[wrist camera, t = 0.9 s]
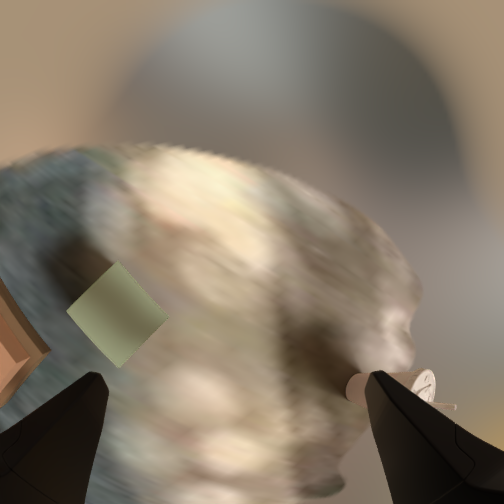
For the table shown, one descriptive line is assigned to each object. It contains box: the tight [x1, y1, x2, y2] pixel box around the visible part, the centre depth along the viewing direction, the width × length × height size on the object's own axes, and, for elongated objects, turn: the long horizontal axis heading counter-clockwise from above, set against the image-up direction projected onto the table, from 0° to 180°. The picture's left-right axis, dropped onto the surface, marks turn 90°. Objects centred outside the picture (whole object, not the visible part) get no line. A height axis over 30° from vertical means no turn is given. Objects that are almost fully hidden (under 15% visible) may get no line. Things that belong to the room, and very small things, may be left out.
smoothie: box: [346, 368, 457, 410], centre depth 22 cm, size 6×6×14 cm
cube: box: [67, 261, 169, 368], centre depth 18 cm, size 5×5×5 cm
